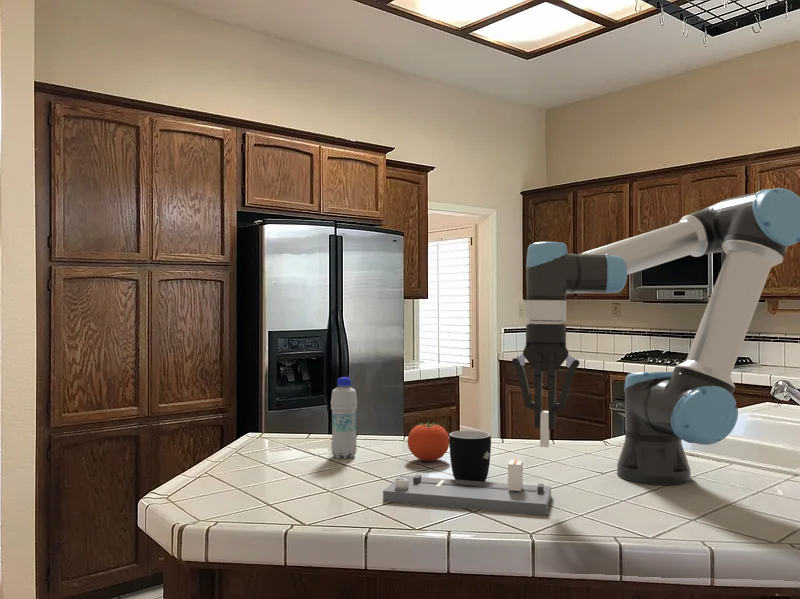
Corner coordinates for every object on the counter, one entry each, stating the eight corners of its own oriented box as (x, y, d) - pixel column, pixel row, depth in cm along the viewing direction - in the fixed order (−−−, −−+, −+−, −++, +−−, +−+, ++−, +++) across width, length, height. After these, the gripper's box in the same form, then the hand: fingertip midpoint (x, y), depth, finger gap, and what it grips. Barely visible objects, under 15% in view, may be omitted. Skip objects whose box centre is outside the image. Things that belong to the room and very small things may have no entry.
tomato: (458, 462, 160) (458, 420, 160) (424, 468, 155) (423, 425, 155) (432, 454, 169) (432, 414, 169) (399, 459, 163) (399, 418, 163)
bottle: (362, 455, 167) (362, 376, 168) (346, 461, 162) (346, 378, 162) (341, 452, 171) (341, 375, 171) (325, 457, 165) (325, 377, 166)
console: (551, 496, 131) (551, 478, 131) (546, 515, 120) (546, 494, 120) (400, 485, 140) (400, 467, 140) (383, 501, 129) (383, 481, 129)
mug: (488, 488, 137) (488, 439, 138) (445, 485, 140) (445, 437, 140) (495, 474, 149) (495, 428, 149) (455, 471, 151) (455, 427, 151)
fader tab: (522, 486, 131) (522, 459, 131) (520, 490, 127) (520, 463, 127) (510, 485, 131) (510, 458, 131) (508, 490, 128) (507, 463, 128)
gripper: (581, 323, 129) (580, 444, 129) (514, 321, 133) (513, 439, 133) (580, 323, 122) (579, 452, 122) (509, 322, 126) (508, 447, 126)
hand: (544, 445), depth 127 cm, fingers closed
